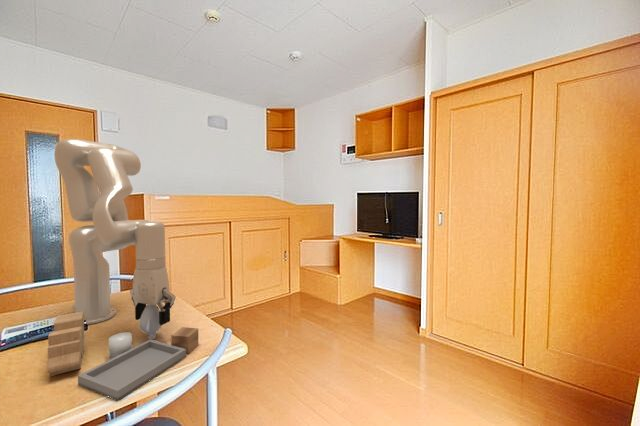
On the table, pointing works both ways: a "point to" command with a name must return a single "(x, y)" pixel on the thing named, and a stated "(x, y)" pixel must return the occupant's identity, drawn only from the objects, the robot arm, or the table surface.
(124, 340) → the pale grey egg shape
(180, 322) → the table surface
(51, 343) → the stepped wooden block
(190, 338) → the walnut cube
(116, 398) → the tray
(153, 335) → the toy figure
